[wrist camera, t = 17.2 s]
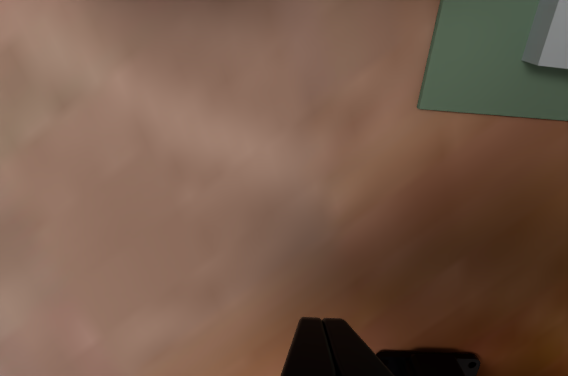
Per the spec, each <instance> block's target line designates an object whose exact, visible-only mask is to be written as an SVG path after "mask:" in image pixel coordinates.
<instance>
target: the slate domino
mask: <svg viewBox="0 0 568 376" xmlns="http://www.w3.org/2000/svg"><path fill="white" fill-rule="evenodd" d="M521 60H522V61H525V62H528V63H531V64H534V65H537V66H546V67H555V68H565V69H568V0H540V1H539V4H538V7H537V11H536V14H535V17H534V20H533V24H532V27H531V30H530V33H529V37H528V40H527V43H526V46H525V50H524V53H523V56H522V59H521Z"/></svg>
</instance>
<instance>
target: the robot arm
mask: <svg viewBox="0 0 568 376" xmlns="http://www.w3.org/2000/svg"><path fill="white" fill-rule="evenodd" d="M382 360H384V361H382ZM479 366H480V361H479V360H478V358H477V356H476V355H474V354H457V353H420V352H380V353H378V354H377V355H375V353H374V352H373V351H372V350H371V349H370V348H369V347H368V346H367V345H366V343H365V342H364V341H363V340H362V339H361V338H360V337H359V336H358V334H357V333H356V332H355V331H354V330H353V329H352V328H351V327H350V326H349V324H348V323H347V322H346V321H345V320H343V319H340V318H324V319H323V320H321V319H320V318H312V317H302V318H301V319H300V320H299V323H298V326H297V329H296V332H295V335H294V338H293V341H292V344H291V347H290V349H289V352H288V355H287V358H286V361H285V364H284V367H283V370H282V373H281V376H476V374H477V372H478V369H479Z"/></svg>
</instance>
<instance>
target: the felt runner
mask: <svg viewBox="0 0 568 376" xmlns="http://www.w3.org/2000/svg"><path fill="white" fill-rule="evenodd" d="M539 1H540V0H440V5H439V9H438V14H437V19H436V23H435V28H434V32H433V37H432V41H431V46H430V50H429V55H428V59H427V64H426V68H425V73H424V77H423V82H422V86H421V91H420V95H419V100H418V104H417V108H418V109H426V110H439V111H452V112H464V113H477V114H489V115H502V116H515V117H527V118H540V119H552V120H565V121H568V69H565V68H555V67H546V66H537V65H534V64H531V63H528V62H525V61H522V60H521V59H522V56H523V53H524V50H525V46H526V43H527V40H528V37H529V33H530V30H531V27H532V24H533V20H534V17H535V14H536V11H537V7H538V4H539Z"/></svg>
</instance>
